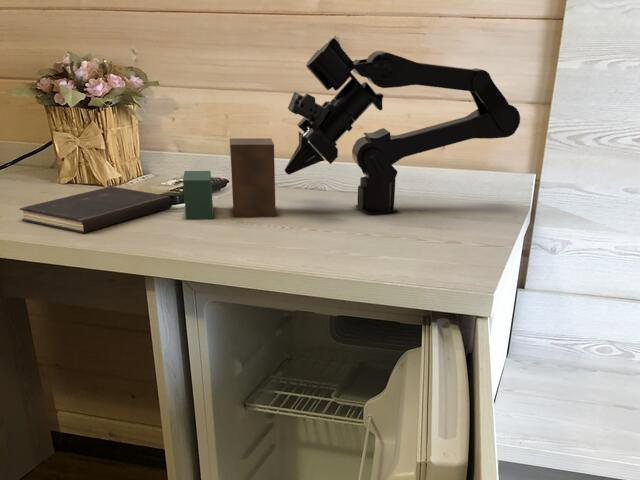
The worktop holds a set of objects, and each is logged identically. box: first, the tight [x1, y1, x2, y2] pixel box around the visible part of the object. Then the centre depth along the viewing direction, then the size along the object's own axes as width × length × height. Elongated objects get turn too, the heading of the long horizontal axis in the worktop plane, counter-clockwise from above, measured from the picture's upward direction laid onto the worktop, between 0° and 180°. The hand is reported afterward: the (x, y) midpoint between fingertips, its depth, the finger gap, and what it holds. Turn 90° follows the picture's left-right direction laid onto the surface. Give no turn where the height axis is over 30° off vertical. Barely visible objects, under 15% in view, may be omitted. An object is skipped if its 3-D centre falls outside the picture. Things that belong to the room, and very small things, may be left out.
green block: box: [182, 170, 214, 220], centre depth 141 cm, size 5×9×7 cm, turn 8°
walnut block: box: [229, 137, 277, 218], centre depth 141 cm, size 8×7×13 cm
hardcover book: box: [19, 185, 173, 234], centre depth 140 cm, size 16×23×2 cm
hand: (286, 172), depth 141 cm, fingers closed
